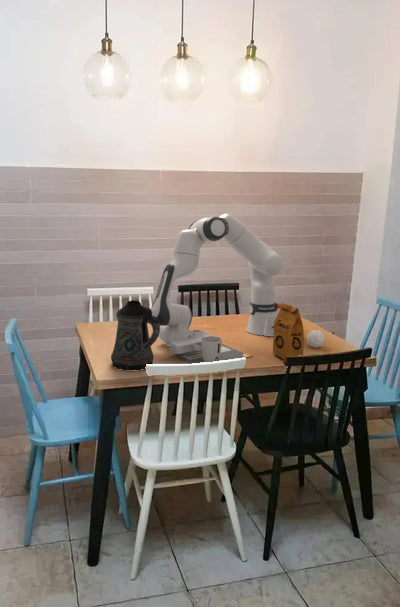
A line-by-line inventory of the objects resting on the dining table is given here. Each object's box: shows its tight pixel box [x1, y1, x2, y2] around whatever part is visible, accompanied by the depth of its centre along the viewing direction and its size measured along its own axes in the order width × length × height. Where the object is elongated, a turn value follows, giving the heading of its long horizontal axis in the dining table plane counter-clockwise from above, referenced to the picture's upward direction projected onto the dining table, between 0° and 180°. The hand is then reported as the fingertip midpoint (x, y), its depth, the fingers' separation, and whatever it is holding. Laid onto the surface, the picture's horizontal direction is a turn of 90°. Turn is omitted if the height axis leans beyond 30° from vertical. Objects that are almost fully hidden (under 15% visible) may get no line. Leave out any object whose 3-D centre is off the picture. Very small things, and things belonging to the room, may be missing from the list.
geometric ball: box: [306, 329, 326, 349], centre depth 235 cm, size 8×8×8 cm
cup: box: [201, 335, 223, 362], centre depth 211 cm, size 8×8×10 cm
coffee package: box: [272, 302, 305, 360], centre depth 219 cm, size 10×12×22 cm
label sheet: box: [172, 343, 245, 364], centre depth 222 cm, size 26×20×1 cm
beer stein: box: [110, 300, 160, 371], centre depth 208 cm, size 16×19×25 cm
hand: (205, 349), depth 214 cm, fingers closed, pressing on cup
